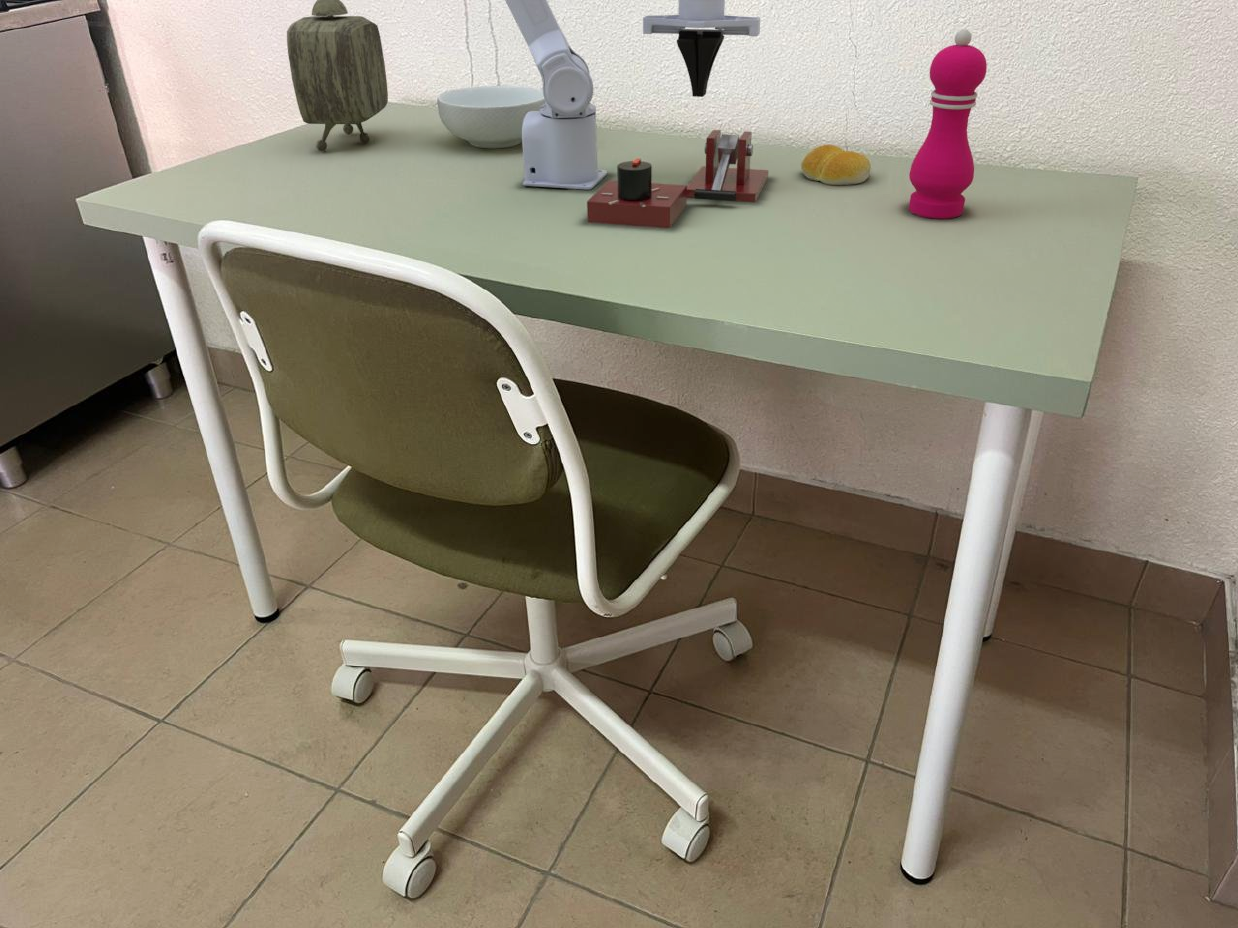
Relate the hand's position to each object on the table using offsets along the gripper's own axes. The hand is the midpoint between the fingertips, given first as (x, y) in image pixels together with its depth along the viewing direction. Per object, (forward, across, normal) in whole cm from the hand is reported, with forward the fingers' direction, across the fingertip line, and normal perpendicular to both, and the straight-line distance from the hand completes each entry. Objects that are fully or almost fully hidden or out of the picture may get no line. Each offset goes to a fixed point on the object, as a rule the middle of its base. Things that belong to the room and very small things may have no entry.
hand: (699, 95), depth 124 cm
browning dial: (+8, -4, -19) cm, 21 cm away
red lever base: (+10, +5, -5) cm, 13 cm away
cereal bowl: (+11, -34, +12) cm, 38 cm away
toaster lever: (+8, +5, -8) cm, 13 cm away
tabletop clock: (+11, -56, +7) cm, 57 cm away
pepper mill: (+11, +31, -9) cm, 34 cm away
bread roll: (+11, +18, +3) cm, 21 cm away
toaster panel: (+10, -4, -18) cm, 21 cm away
